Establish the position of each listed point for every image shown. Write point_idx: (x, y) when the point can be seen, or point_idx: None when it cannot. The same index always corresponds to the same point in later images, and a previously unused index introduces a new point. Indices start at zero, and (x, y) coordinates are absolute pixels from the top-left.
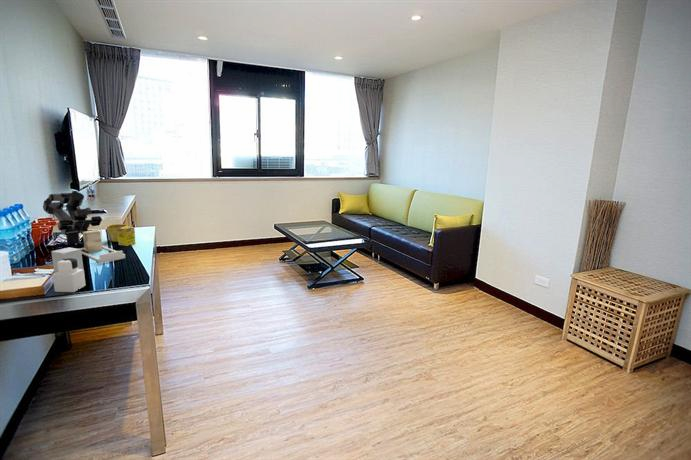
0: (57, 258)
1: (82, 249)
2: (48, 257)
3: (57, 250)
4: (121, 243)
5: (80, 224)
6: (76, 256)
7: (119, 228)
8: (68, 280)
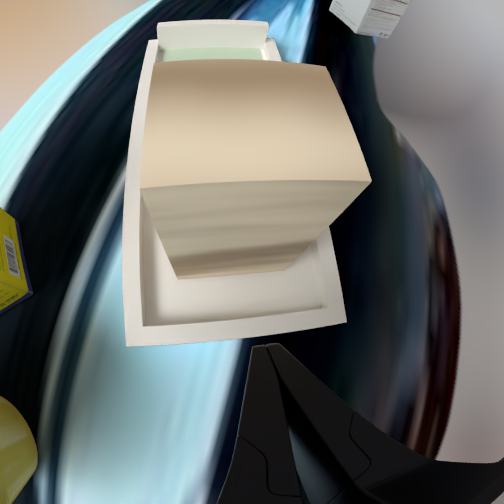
0: None
1: (292, 314)
2: (450, 303)
3: None
4: (10, 257)
5: (421, 492)
6: None
7: None
8: None
